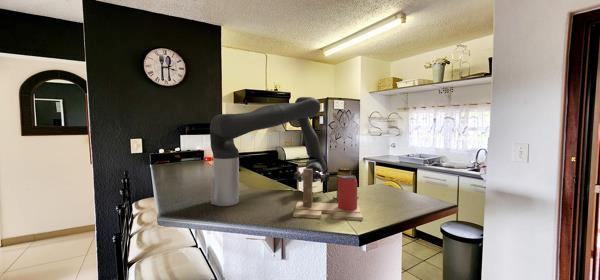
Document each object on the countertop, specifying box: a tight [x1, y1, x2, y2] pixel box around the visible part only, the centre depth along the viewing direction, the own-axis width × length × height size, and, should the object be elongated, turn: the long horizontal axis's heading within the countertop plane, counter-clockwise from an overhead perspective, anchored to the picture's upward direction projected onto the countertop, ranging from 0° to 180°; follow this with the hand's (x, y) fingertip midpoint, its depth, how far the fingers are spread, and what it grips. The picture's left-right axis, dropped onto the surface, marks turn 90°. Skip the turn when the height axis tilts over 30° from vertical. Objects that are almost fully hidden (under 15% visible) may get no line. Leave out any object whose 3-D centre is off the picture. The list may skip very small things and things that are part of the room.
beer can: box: [337, 174, 358, 211], centre depth 91 cm, size 7×7×12 cm
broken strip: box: [292, 209, 364, 221], centre depth 85 cm, size 22×4×1 cm, turn 83°
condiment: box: [333, 167, 359, 200], centre depth 107 cm, size 7×8×12 cm
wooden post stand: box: [294, 167, 362, 215], centre depth 92 cm, size 22×8×14 cm, turn 83°
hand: (310, 179), depth 102 cm, fingers open, 8 cm apart
